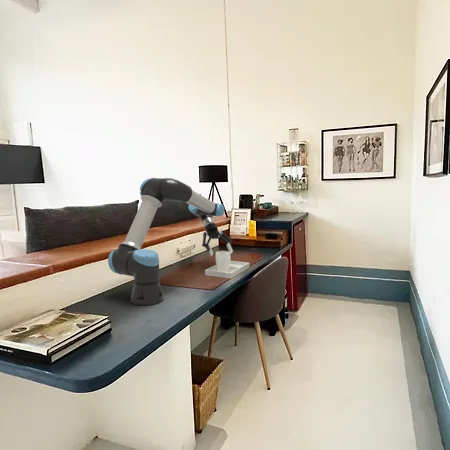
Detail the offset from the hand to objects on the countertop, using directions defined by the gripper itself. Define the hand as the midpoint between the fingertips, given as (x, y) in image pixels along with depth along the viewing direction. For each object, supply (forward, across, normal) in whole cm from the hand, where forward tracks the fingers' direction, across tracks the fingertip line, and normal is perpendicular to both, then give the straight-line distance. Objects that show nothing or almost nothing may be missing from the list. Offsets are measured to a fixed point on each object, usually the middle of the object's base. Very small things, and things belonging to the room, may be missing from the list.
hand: (222, 253), depth 214 cm
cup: (+10, +1, -6) cm, 11 cm away
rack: (+8, -5, -9) cm, 13 cm away
